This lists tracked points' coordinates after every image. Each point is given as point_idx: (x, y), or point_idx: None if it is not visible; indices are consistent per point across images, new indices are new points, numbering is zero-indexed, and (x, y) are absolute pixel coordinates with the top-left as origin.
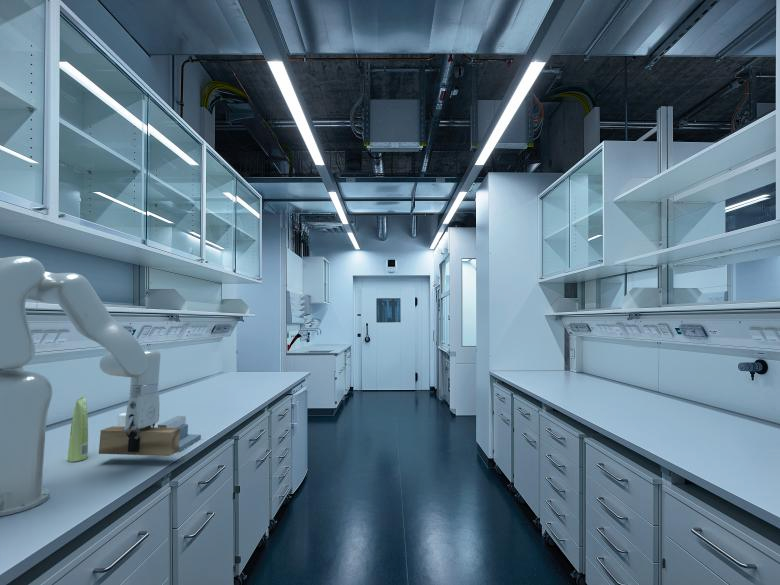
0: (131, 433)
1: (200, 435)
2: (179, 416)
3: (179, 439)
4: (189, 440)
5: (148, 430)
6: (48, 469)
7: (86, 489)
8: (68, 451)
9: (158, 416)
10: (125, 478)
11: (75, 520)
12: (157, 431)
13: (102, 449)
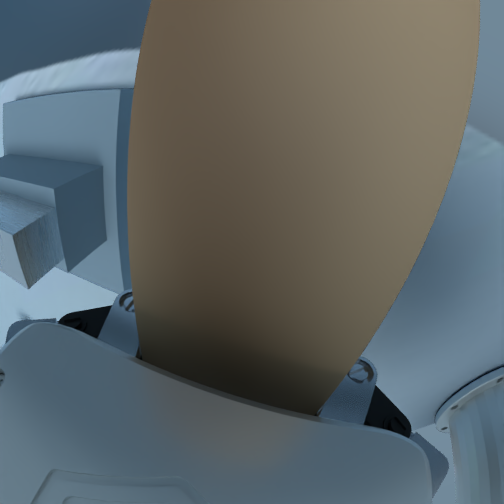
0: (410, 430)
1: (6, 103)
2: None
3: (38, 157)
4: (43, 104)
5: (290, 349)
6: None
7: (499, 319)
8: None
9: (7, 363)
10: (477, 234)
11: None
12: (395, 209)
13: None
